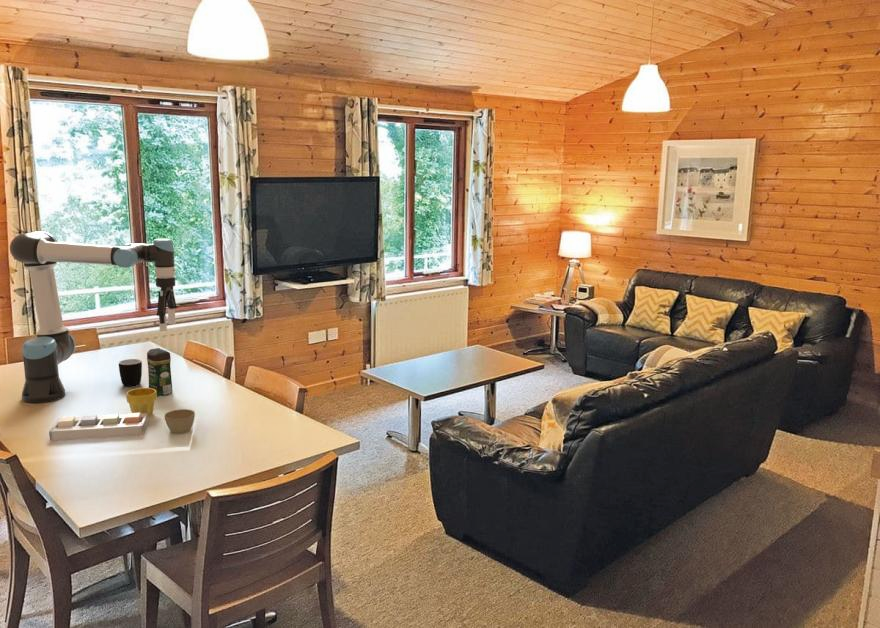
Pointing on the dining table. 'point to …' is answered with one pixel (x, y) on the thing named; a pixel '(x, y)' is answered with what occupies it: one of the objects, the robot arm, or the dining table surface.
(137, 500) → the dining table surface
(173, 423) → the flower pot
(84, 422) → the key slate
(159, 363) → the coffee jar
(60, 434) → the keypad
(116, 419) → the key sage
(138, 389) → the plant pot
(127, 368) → the mug
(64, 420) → the key cream
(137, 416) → the key terracotta
